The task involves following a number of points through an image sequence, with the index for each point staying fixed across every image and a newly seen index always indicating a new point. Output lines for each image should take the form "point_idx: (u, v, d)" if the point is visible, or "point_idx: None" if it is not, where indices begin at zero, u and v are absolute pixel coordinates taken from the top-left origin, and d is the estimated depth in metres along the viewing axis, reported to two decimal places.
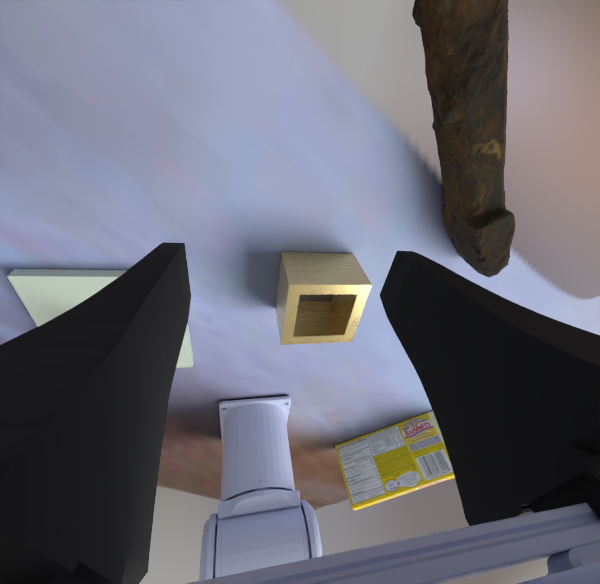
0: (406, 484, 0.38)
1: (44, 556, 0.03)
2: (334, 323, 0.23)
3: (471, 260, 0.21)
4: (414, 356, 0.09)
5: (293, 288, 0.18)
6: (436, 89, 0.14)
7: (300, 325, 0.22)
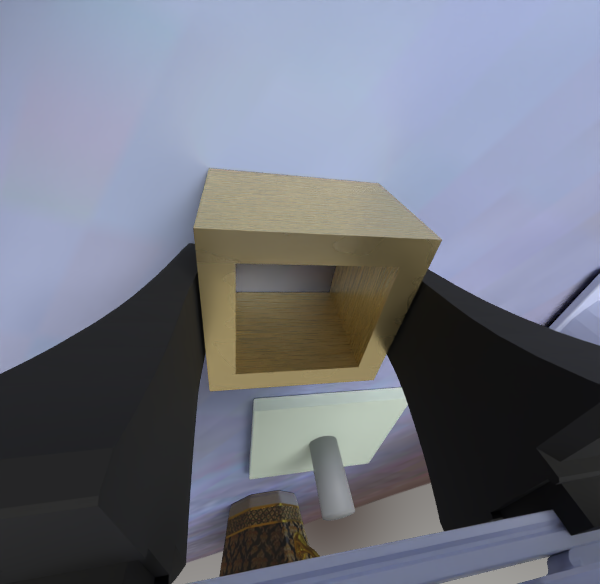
0: None
1: (128, 541, 0.03)
2: None
3: None
4: (393, 357, 0.09)
5: (218, 384, 0.09)
6: None
7: (353, 326, 0.10)
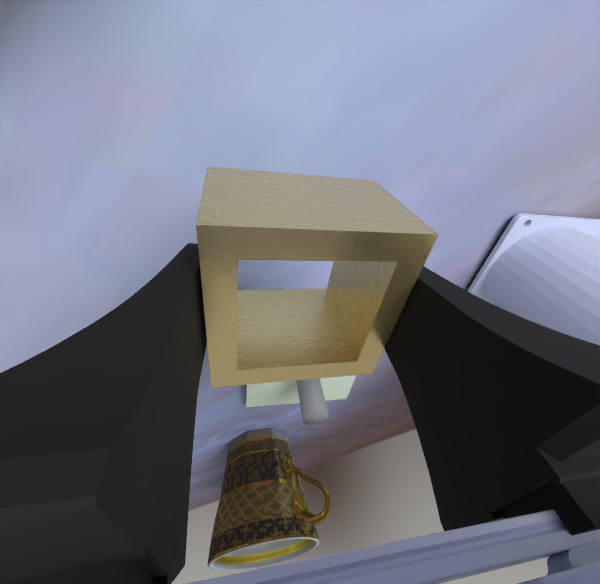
0: None
1: (128, 542, 0.03)
2: None
3: None
4: (394, 357, 0.09)
5: (220, 381, 0.09)
6: None
7: (352, 321, 0.10)
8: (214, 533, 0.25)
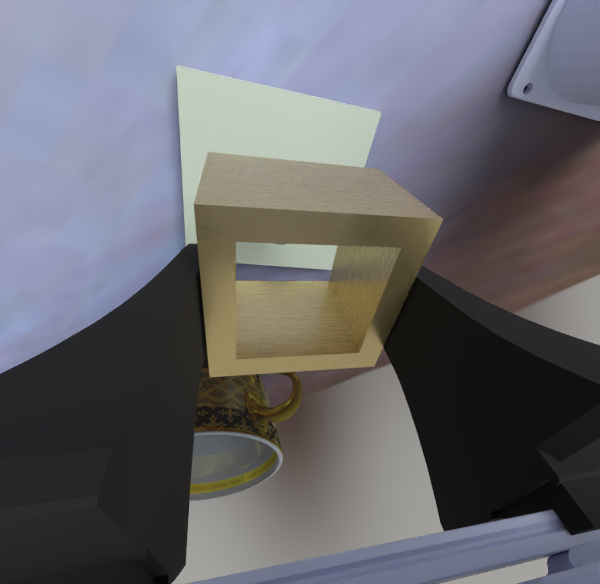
0: None
1: (128, 542, 0.03)
2: None
3: None
4: (394, 357, 0.09)
5: (219, 370, 0.09)
6: None
7: (353, 312, 0.10)
8: None
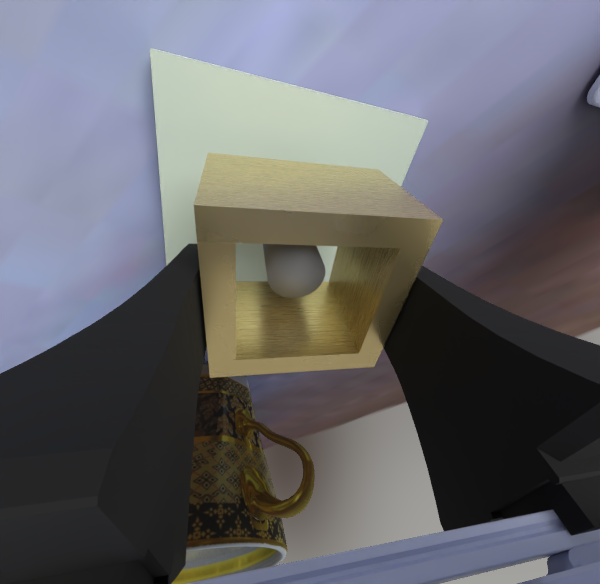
0: None
1: (129, 542, 0.03)
2: None
3: None
4: (394, 357, 0.09)
5: (219, 371, 0.09)
6: None
7: (353, 312, 0.10)
8: None
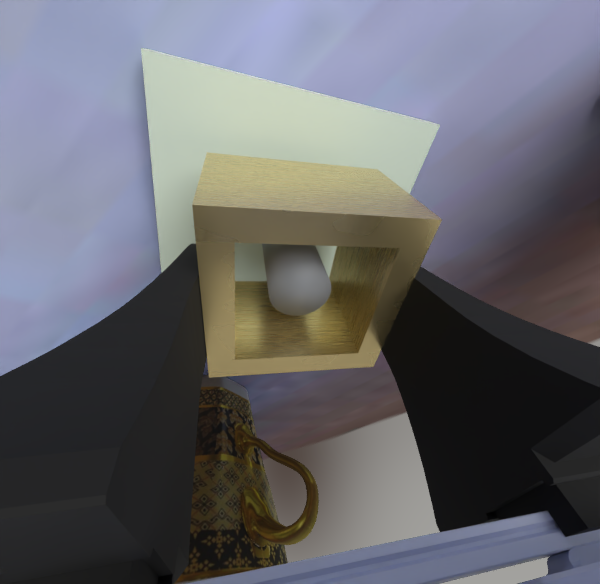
0: None
1: (135, 541, 0.03)
2: None
3: None
4: (390, 357, 0.09)
5: (218, 370, 0.09)
6: None
7: (353, 312, 0.10)
8: None
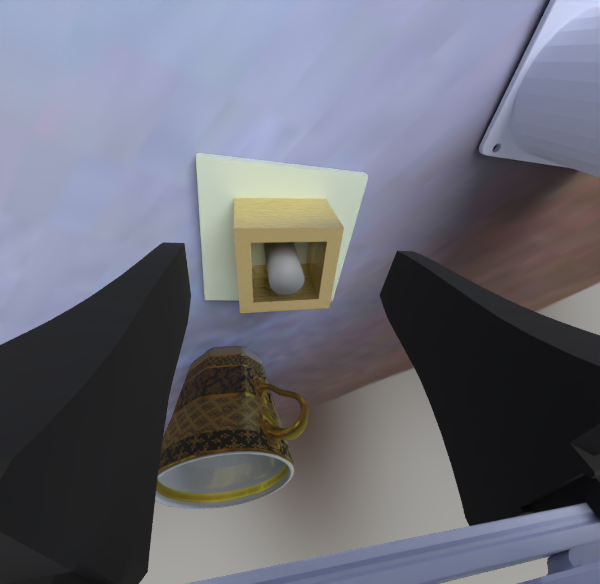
0: None
1: (44, 557, 0.03)
2: None
3: None
4: (414, 356, 0.09)
5: (244, 309, 0.17)
6: None
7: (316, 278, 0.18)
8: None
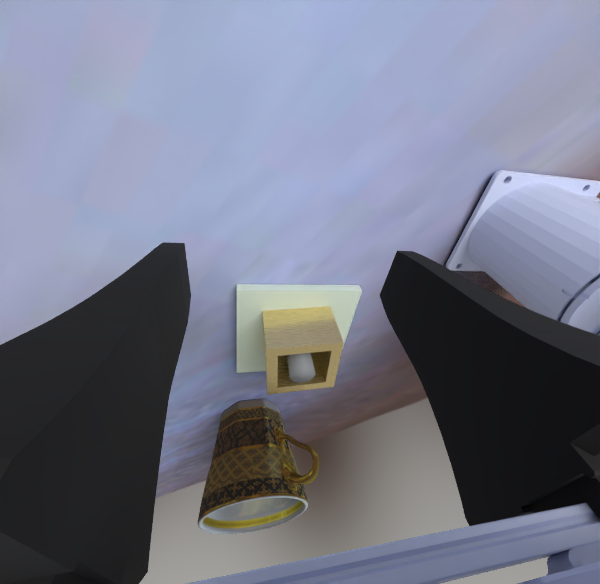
0: None
1: (44, 556, 0.03)
2: None
3: None
4: (414, 356, 0.09)
5: (271, 391, 0.23)
6: None
7: (323, 365, 0.24)
8: (204, 494, 0.26)
